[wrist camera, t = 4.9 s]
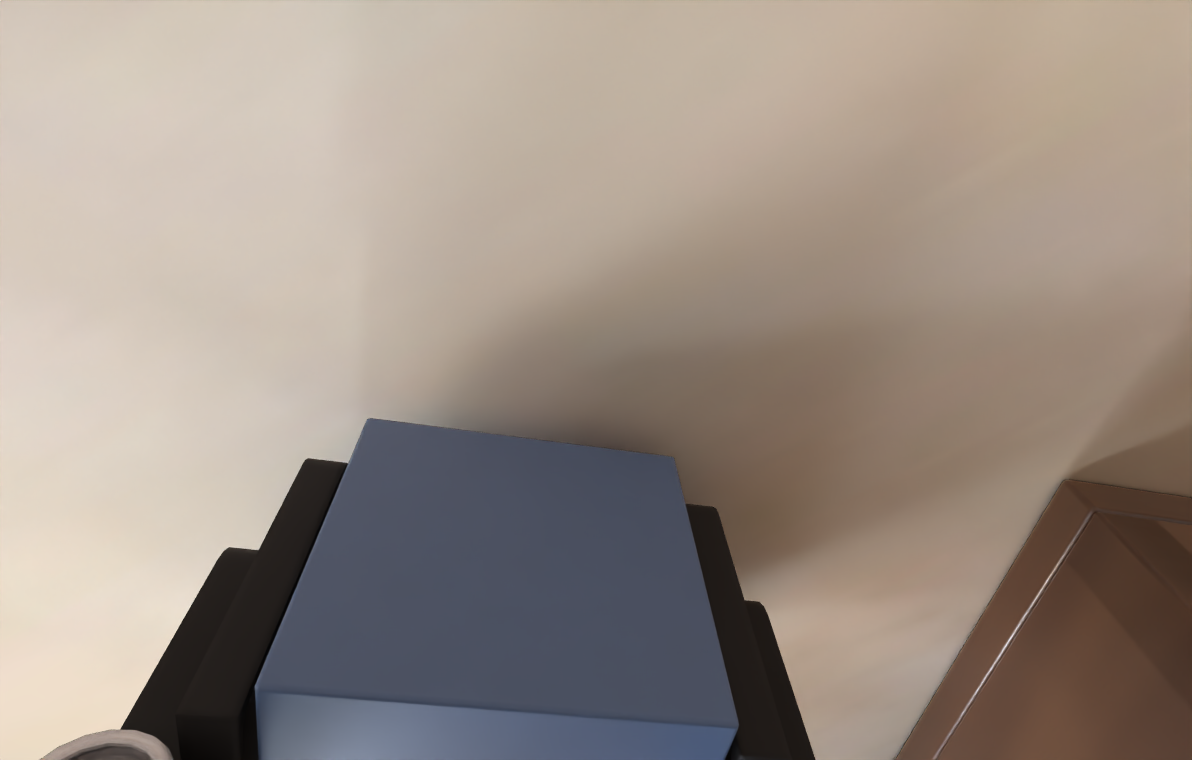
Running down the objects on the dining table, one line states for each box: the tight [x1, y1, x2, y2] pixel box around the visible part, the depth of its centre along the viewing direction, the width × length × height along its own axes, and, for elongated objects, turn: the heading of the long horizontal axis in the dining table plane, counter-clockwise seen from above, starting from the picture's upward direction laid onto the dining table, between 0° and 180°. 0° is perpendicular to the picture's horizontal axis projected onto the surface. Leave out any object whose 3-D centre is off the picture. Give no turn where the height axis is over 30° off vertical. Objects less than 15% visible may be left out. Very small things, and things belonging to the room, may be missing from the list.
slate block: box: [255, 418, 739, 760], centre depth 9 cm, size 4×4×4 cm
